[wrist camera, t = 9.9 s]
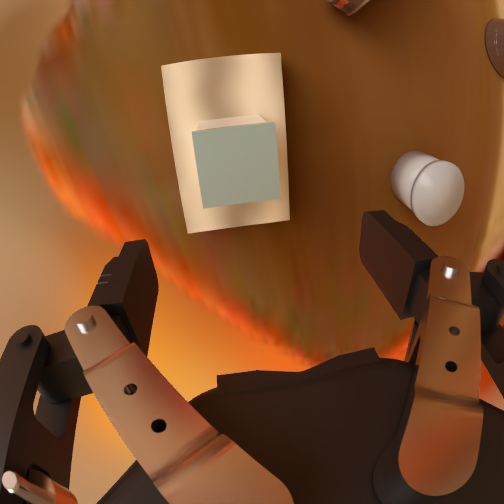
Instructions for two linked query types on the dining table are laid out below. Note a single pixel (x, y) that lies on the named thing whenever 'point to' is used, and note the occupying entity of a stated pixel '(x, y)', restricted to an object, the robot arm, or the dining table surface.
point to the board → (217, 107)
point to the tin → (348, 5)
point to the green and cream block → (236, 160)
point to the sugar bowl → (428, 186)
